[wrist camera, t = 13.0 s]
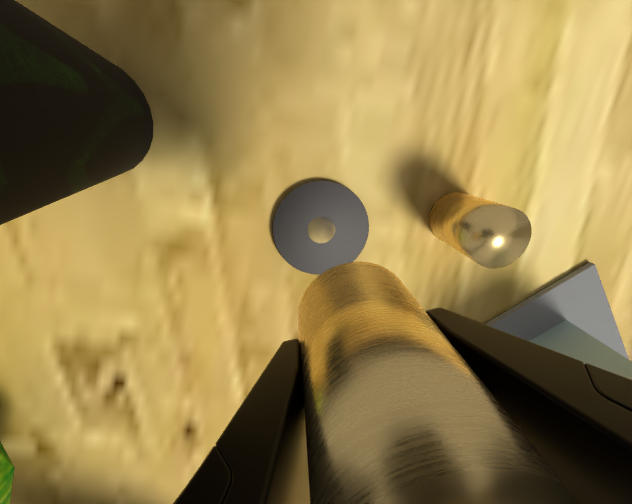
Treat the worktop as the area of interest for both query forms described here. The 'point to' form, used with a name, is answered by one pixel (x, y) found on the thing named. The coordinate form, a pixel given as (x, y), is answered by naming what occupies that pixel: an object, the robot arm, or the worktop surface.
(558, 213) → the worktop surface
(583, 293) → the mat
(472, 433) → the peg
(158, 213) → the worktop surface
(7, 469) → the lettuce
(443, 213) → the pin
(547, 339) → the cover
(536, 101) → the worktop surface
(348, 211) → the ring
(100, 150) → the cup
